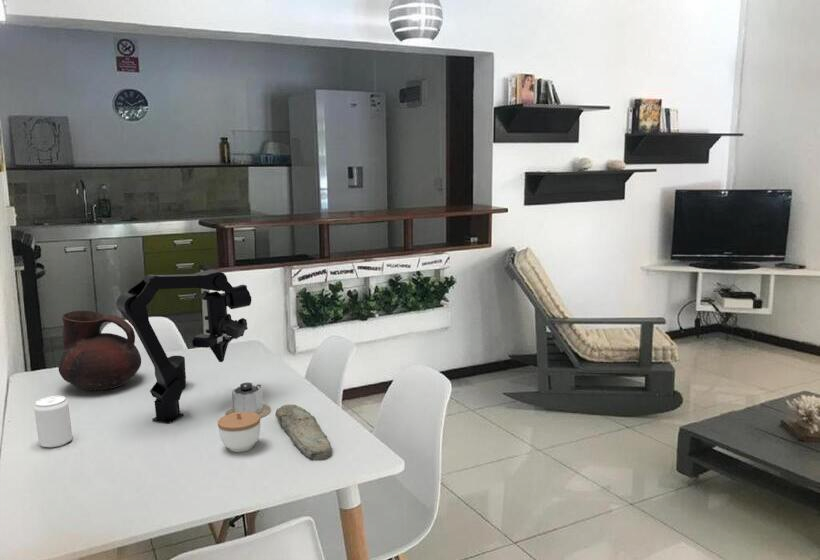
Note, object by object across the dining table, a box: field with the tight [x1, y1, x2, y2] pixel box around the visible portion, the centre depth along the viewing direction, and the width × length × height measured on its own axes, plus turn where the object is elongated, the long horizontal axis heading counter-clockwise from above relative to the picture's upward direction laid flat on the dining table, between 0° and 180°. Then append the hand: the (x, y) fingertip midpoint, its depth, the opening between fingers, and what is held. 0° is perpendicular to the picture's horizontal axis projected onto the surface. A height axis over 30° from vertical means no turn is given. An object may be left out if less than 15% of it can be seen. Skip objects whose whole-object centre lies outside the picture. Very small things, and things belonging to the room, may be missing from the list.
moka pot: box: [224, 383, 271, 419], centre depth 201 cm, size 13×13×7 cm
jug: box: [58, 310, 142, 391], centre depth 227 cm, size 25×25×25 cm
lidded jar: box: [217, 412, 261, 453], centre depth 178 cm, size 11×11×9 cm
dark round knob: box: [239, 382, 253, 394], centre depth 201 cm, size 5×5×6 cm
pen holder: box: [167, 355, 187, 391], centre depth 223 cm, size 9×9×10 cm
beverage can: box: [33, 395, 73, 448], centre depth 183 cm, size 8×8×12 cm
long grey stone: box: [275, 404, 332, 461], centre depth 185 cm, size 35×5×10 cm
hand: (221, 361), depth 208 cm, fingers closed
